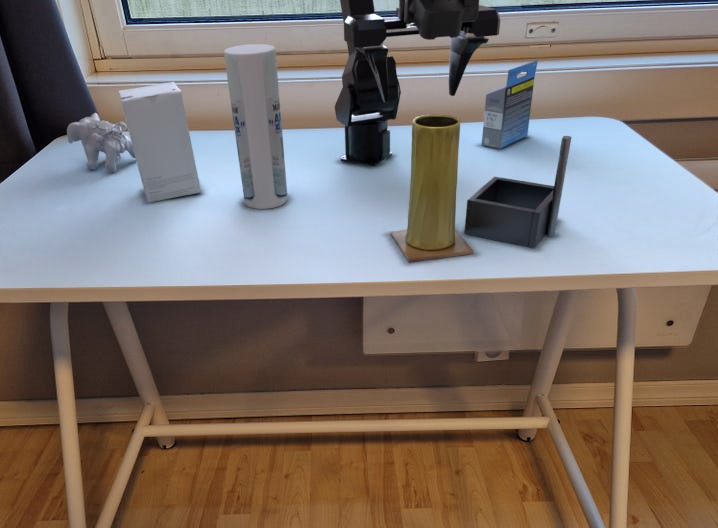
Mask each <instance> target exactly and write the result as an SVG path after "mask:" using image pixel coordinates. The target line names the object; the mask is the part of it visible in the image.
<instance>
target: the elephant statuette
mask: <svg viewBox="0 0 718 528" xmlns="http://www.w3.org/2000/svg"><path fill="white" fill-rule="evenodd" d="M126 130H128V127H127V123H126V122H124V121H121V120H119V121H118V122H116V123H111V122H109V120H104V119H102V120H101V118H100V116H99V114H98V113H96V112H94V113H92V114H91V115H90V116H85V117H84V118H81V119H79V121H74V122H71V123H69V124H68V126H67V128H66V135H67V142H68V143H69V144H70V145H72V144H73V143H75V142H79V141H81V145H82V148H83V150H84V153H85V156H86V159H87V163H86V166H87V168H88V169H90V170H96V169H97V168H98V162H99V161H98V160H99V158H100V157H99V156H100V152H101V153H104V154H105V169H106V171H107V172H109V173H113V172H115V171H116V169H117V167H116V160H117V159H118V157H119V159H122V155H121V154H123V153H125V151H127V152H128V153H129V155H130V157H132V158H133V159H135V160H136V158H135V154H134V150H133V146H132V142H131V139H130V136H128V135H126V134H125V133H124V132H125V131H126Z"/></svg>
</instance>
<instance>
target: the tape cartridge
mask: <svg viewBox="0 0 718 528" xmlns="http://www.w3.org/2000/svg"><path fill="white" fill-rule="evenodd" d="M537 68H538V60H537V59H536V60H534V61H532V62H529V63H525V64H522V65H520V66H516V67H514V68H510V69H508V71H507V78H506V86H504V87H502V88H499V89H496V90H494V91H491V92H489V93H487V94H485V102H484V103H485V104H484V113H483V125H482V135H481V136H482V137H481V146H483V147H486V148H492V149H496V150H501V149H503V148H505V147H507V146H509V145H511V144H513V143H515V142H518V141H519V140H522V139H524V138H526V137H528V135H529V126H530V118H531V112H532V111H531V109H532V102H533V92H534V84H535V77H536V71H537ZM522 72H523V73H525V75H522V76H520V77H518V75H520V74H522Z"/></svg>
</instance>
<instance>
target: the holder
mask: <svg viewBox="0 0 718 528" xmlns="http://www.w3.org/2000/svg"><path fill="white" fill-rule="evenodd" d="M571 142H572V136H571V135H562V137H561V142H560V148H559V154H558V160H557V167H556V172H555V178H554V185H550V184H543V183H538V182H532V181H525V180H520V179H512V178H508V177H507V178H506V177H501V176H493V177H491V179H489V180H488V181H487V182H486V183H485V184H483V186H481V187H480V188H479V189H478V190H476V192H475V193H473V194H472V195H471V196H470V197H469V198H467V200H466V211H465V220H464V221H465V222H464V235H468V236H473V237H477V238H478V237H479V238H482V239H486V240H493V241H498V242H502V243H506V244H512V245H516V246H521V247H526V248H531V249H536V247H537V246H538V245H539V243H540V242H541V241H542V240H543V239H544V238H545V236H547V237H551V238H552V237H554V236H555V234H556V229H557V222H558V219H559V218H558V217H559V212H560V207H561V200H562V196H563V195H562V194H563V188H564V182H565V179H566V178H565V177H566V171H567V167H568V166H567V165H568V161H569V160H568V159H569V154H570V148H571Z"/></svg>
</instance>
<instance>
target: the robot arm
mask: <svg viewBox="0 0 718 528" xmlns="http://www.w3.org/2000/svg"><path fill="white" fill-rule="evenodd" d="M339 2H340V9H341V15H342V20H343V41H345V42H346V45H347V46H346V47H347V53H348V58H347V61H346V63H345V66H344V69H343V72H342V74H341V82H342V83H341V84H342V88H341V90H340V93H339V95H338V97H337V100H336V102H335V104H334V112H335V120H336V121H337V122H338V123H340V124H341V125H344V148H345V149H344V150H345V154H343V155H342V156H341V157H340V158H339V159H340V161H341V162H344V163H351V164H356V165H363V166H369V167H376V166H377V165H379V164H380V163H382V162H384V161H385V160H387V159H388V158H390V157H392V156H393V152H392V151H391V130H390V129H388V128H389V125H388V124H389V120H391V121H394V120H396V119H397V114H398V110H399V105H400V100H401V94H402V91H401V85H400V81H399V79H398V73H397V63H396V59H395V58H394V56H393V55H388V53H389V48H388V47H386V46H385V45H384V42H385V40H387V38H391V37H403V36H416V35H419V36H420V38H422V39H423V40H428V41H431V40H436V38H447V37H449V38H450V44H449V46H450V48H449V64H448V65H449V66H448V94H449V96H451V97H455V96H456V94H457V92H458V88H459V86H460V84H461V82H462V78H463V76H464V73H465V72H466V68H467V66H468V64H469V62H470V60H471V58H472V57H473V55H474V53H475V52H476V51H477V50H478V48H480V46H481V45H484V44H485V45H486V44H488V42H489V40H490V39H489V38H488V37H493V36H494V37H495V36H498V35H500V29H501V16H500V14H499V12H498V10H497V9H496V8H492V7H490V6H485V5H482V4H481V5H480V0H398V6H397V7H396V8H395V11H396V13H395V17H396V18H398V19H386V20H385V18H383V17H382V16H379V15H378V14H376V9H375V2H374V0H339ZM408 25H409V26H408Z"/></svg>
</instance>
